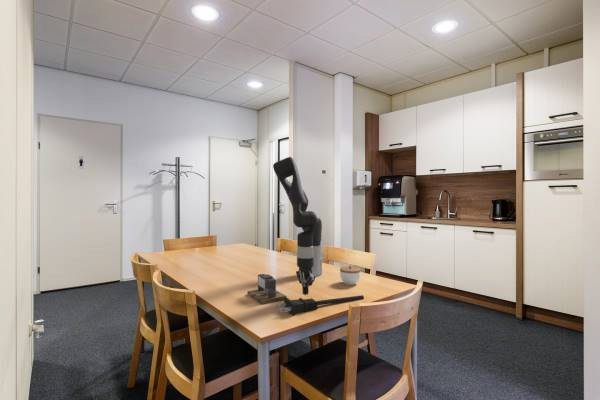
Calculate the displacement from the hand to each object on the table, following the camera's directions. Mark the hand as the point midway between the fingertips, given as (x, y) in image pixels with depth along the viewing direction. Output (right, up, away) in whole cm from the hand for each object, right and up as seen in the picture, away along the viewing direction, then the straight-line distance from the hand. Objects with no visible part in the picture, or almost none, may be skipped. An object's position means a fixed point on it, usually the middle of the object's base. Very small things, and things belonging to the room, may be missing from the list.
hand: (305, 294), depth 142 cm
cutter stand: (-18, -2, +2) cm, 18 cm away
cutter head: (-18, 0, +2) cm, 18 cm away
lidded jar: (+24, -2, +24) cm, 34 cm away
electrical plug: (+7, -3, -9) cm, 12 cm away
